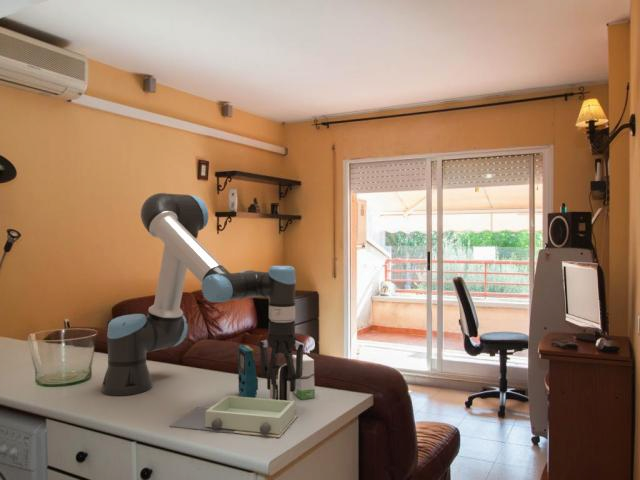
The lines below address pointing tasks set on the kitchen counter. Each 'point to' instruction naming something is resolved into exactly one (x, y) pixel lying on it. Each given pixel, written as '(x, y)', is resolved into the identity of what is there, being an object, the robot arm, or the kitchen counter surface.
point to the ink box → (305, 378)
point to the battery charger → (280, 380)
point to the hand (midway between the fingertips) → (281, 401)
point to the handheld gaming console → (247, 372)
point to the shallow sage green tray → (250, 414)
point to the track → (197, 422)
